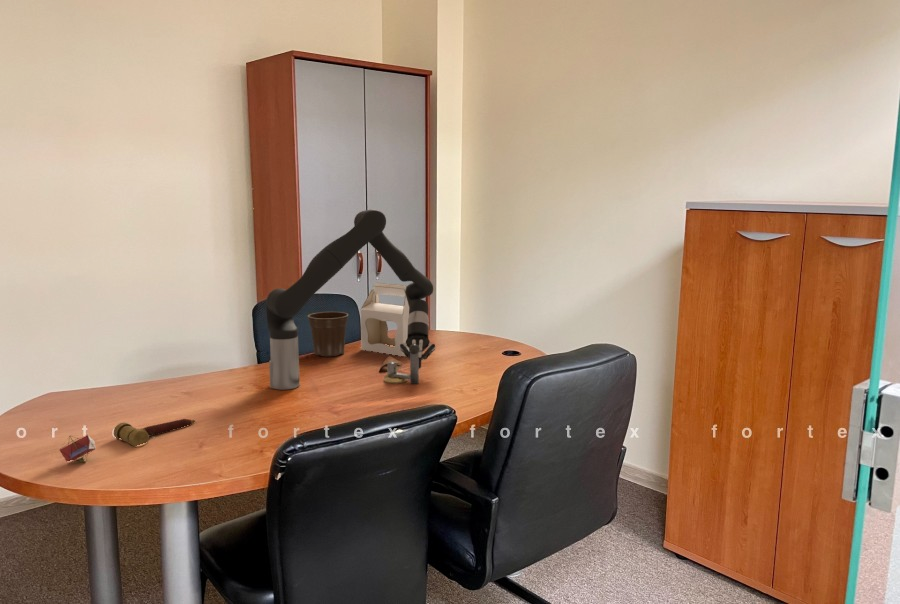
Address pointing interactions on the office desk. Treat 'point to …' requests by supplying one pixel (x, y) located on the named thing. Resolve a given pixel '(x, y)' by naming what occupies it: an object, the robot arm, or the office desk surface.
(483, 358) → the office desk surface
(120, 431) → the gavel
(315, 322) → the plant pot
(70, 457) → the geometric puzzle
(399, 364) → the sunglasses case
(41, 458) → the office desk surface
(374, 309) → the gable box
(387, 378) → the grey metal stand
